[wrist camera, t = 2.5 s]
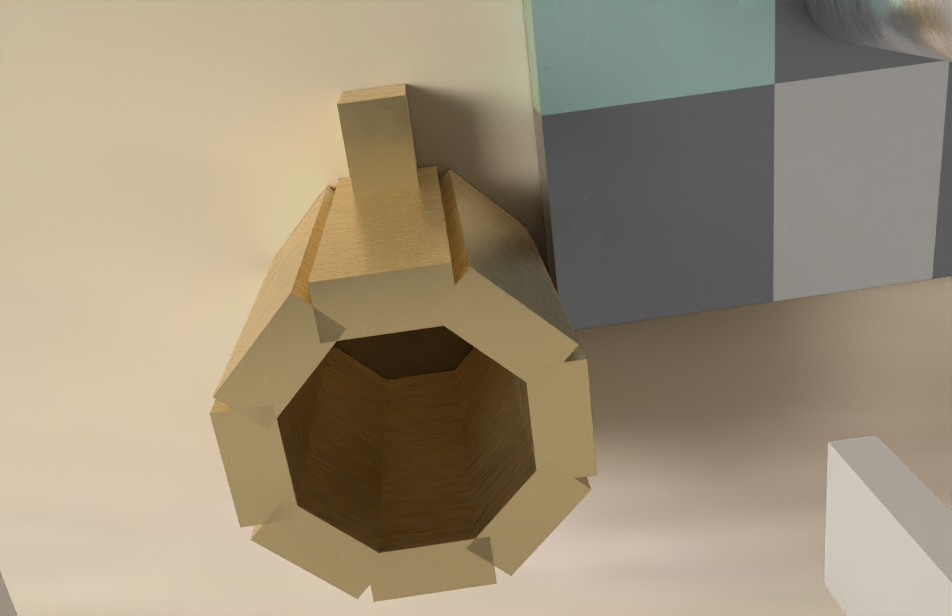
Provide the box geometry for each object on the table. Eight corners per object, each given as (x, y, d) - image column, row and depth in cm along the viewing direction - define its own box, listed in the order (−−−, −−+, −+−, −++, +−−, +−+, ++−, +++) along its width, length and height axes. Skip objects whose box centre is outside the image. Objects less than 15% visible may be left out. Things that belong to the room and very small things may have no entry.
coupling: (233, 107, 22) (147, 180, 15) (513, 68, 22) (568, 122, 15) (319, 491, 27) (286, 697, 19) (553, 457, 27) (611, 647, 19)
